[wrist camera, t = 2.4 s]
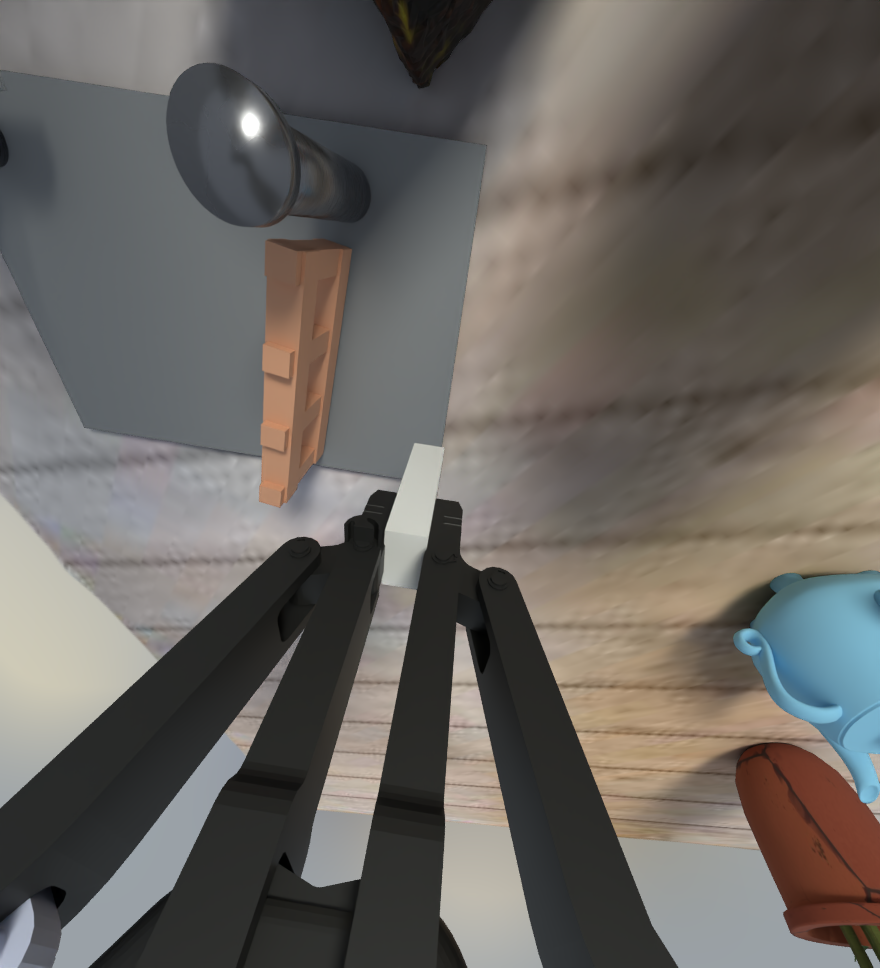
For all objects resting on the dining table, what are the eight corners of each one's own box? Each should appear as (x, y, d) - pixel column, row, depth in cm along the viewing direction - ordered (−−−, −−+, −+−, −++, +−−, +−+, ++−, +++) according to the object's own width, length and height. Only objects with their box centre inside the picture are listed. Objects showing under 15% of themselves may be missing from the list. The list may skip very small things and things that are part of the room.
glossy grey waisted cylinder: (317, 147, 18) (149, 53, 9) (382, 157, 18) (280, 72, 9) (321, 227, 19) (184, 217, 10) (380, 236, 19) (294, 235, 10)
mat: (-77, 60, 17) (-93, 55, 17) (486, 147, 17) (486, 145, 16) (91, 424, 28) (84, 427, 27) (437, 479, 28) (436, 484, 27)
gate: (324, 238, 19) (261, 238, 13) (352, 248, 19) (301, 253, 14) (302, 446, 26) (256, 500, 21) (323, 453, 26) (282, 508, 21)
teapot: (950, 608, 30) (1160, 774, 21) (772, 667, 37) (871, 813, 27) (873, 507, 26) (1097, 661, 16) (686, 596, 32) (769, 741, 23)
